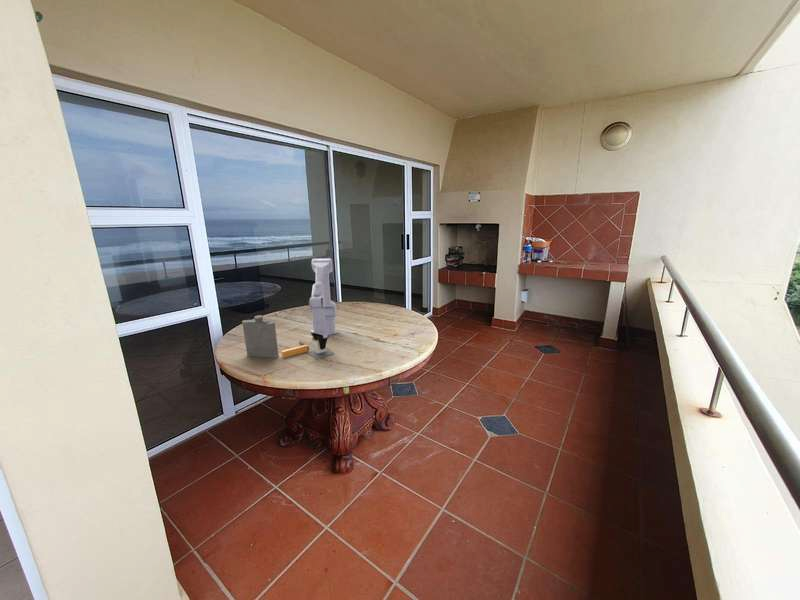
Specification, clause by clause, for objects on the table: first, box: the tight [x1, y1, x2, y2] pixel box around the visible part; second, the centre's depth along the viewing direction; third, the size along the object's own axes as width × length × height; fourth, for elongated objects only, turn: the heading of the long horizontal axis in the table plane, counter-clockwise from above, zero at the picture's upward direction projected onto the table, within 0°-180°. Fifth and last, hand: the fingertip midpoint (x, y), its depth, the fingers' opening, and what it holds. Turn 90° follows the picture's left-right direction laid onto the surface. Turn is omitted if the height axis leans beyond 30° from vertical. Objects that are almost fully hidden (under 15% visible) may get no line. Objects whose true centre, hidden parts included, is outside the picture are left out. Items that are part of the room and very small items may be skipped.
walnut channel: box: [298, 336, 315, 350], centre depth 166 cm, size 10×8×2 cm
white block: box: [312, 340, 328, 353], centre depth 155 cm, size 4×4×5 cm
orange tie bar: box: [281, 345, 309, 359], centre depth 155 cm, size 2×12×3 cm, turn 127°
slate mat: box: [307, 346, 336, 361], centre depth 156 cm, size 10×10×1 cm
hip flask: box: [241, 314, 279, 359], centre depth 151 cm, size 16×4×20 cm, turn 80°
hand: (320, 347), depth 155 cm, fingers closed on white block, 4 cm apart
